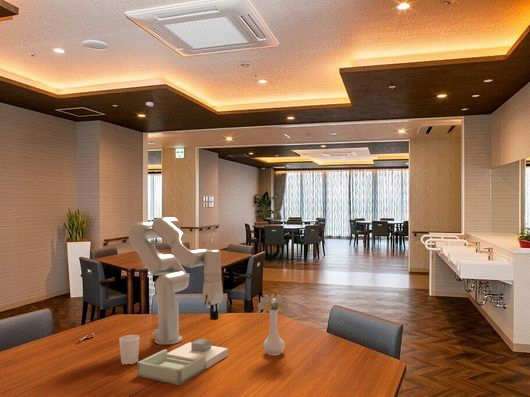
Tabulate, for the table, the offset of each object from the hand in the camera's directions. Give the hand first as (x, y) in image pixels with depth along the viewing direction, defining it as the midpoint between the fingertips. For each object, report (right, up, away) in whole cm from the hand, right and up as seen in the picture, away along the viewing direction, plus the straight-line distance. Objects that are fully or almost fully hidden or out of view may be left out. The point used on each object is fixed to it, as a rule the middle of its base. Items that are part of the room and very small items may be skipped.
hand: (214, 319), depth 188 cm
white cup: (-33, -14, -14) cm, 38 cm away
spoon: (-65, -15, +12) cm, 68 cm away
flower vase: (+26, -13, -5) cm, 30 cm away
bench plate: (-6, -13, -11) cm, 18 cm away
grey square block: (-5, -10, -8) cm, 14 cm away
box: (-13, -13, -25) cm, 31 cm away
